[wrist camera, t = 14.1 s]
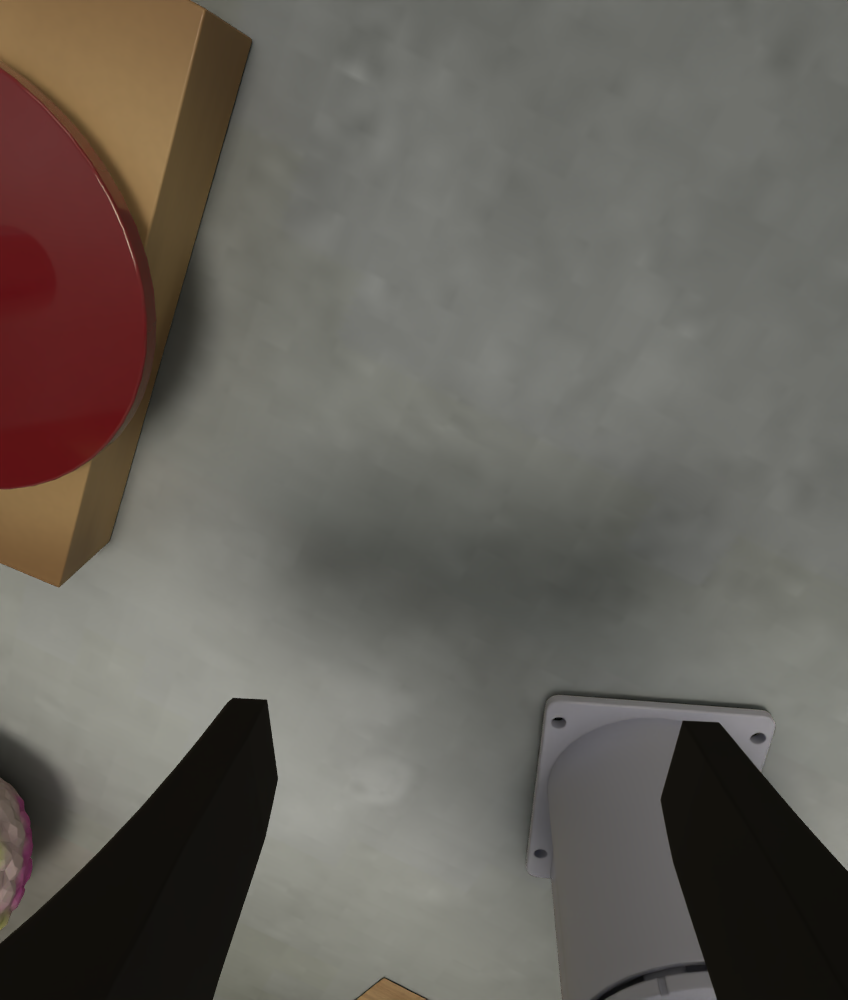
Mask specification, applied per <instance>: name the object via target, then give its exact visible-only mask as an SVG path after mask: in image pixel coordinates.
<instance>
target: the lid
mask: <svg viewBox="0 0 848 1000" xmlns="http://www.w3.org/2000/svg"><path fill="white" fill-rule="evenodd" d="M156 321H157V318H156V307H155V296H154V287H153V283H152V278H151V273H150V268H149V264H148V259H147V256H146V253H145V250H144V247H143V244H142V241H141V238H140V235H139V232H138V229H137V226H136V224H135V222H134V219H133V217H132V215H131V213H130V211H129V208H128V206H127V204H126V202H125V200H124V197H123V195H122V194H121V192H120V190H119V188H118V187H117V185H116V183H115V182H114V180H113V178H112V176H111V175H110V173H109V171H108V170H107V168H106V166H105V165H104V163H103V162H102V160H101V159H100V158H99V156H98V155H97V154H96V152H95V151H94V149H93V148H92V147H91V145H90V144H89V143H88V141H87V140H86V139H85V137H84V136H83V134H82V133H81V132H80V131H79V130H78V129H77V128H76V127H75V126H74V124H73V123H72V122H71V121H70V120H69V119H68V118H67V117H66V116H65V115H64V113H63V112H62V111H61V110H60V109H59V108H58V107H57V106H56V105H55V104H54V103H53V102H52V101H51V100H50V99H48V98H47V97H46V96H45V95H44V94H43V93H42V92H41V91H39V90H38V89H37V88H36V87H35V86H34V85H33V84H32V83H31V82H29V81H28V80H27V79H25V78H24V77H23V76H21V75H20V74H18V73H17V72H16V71H14V70H13V69H11V68H10V67H9V66H7V65H6V64H4V63H3V62H2V61H0V489H17V488H24V487H31V486H36V485H40V484H43V483H47V482H50V481H53V480H56V479H59V478H61V477H63V476H65V475H67V474H69V473H71V472H73V471H75V470H77V469H79V468H80V467H82V466H83V465H85V464H86V463H87V462H89V461H90V460H92V459H93V458H95V457H96V456H98V455H99V454H101V453H102V452H103V451H104V450H105V449H106V448H108V447H109V446H110V445H111V444H112V443H113V442H114V441H115V440H116V439H117V438H118V437H119V436H120V434H121V433H122V432H123V430H124V429H125V428H126V426H127V425H128V423H129V422H130V421H131V419H132V418H133V416H134V414H135V412H136V410H137V408H138V406H139V404H140V402H141V400H142V398H143V396H144V393H145V390H146V387H147V384H148V381H149V378H150V375H151V370H152V364H153V359H154V353H155V347H156Z"/></svg>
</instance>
